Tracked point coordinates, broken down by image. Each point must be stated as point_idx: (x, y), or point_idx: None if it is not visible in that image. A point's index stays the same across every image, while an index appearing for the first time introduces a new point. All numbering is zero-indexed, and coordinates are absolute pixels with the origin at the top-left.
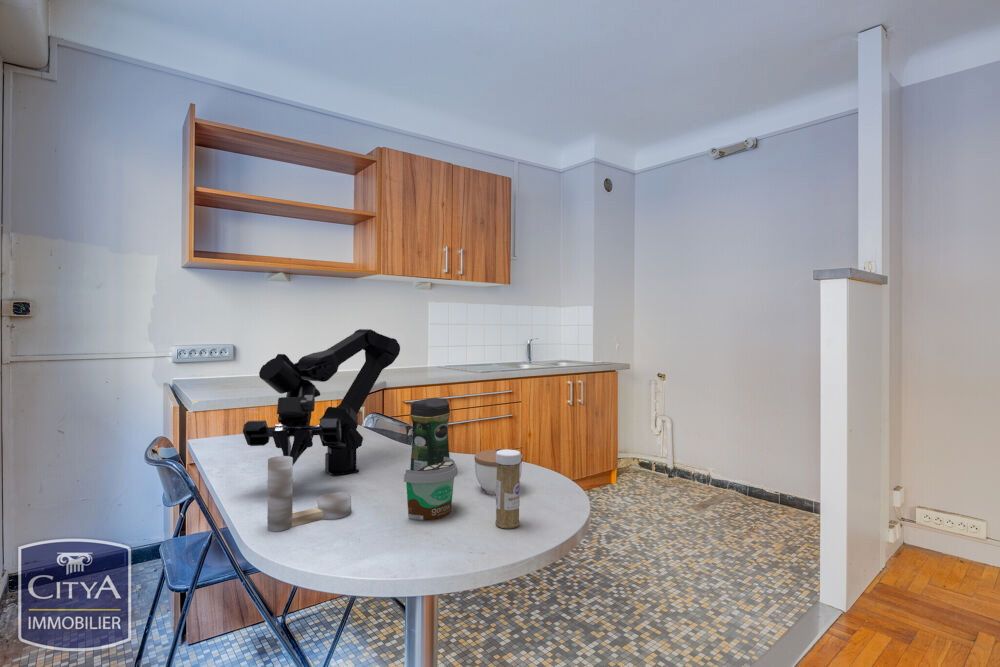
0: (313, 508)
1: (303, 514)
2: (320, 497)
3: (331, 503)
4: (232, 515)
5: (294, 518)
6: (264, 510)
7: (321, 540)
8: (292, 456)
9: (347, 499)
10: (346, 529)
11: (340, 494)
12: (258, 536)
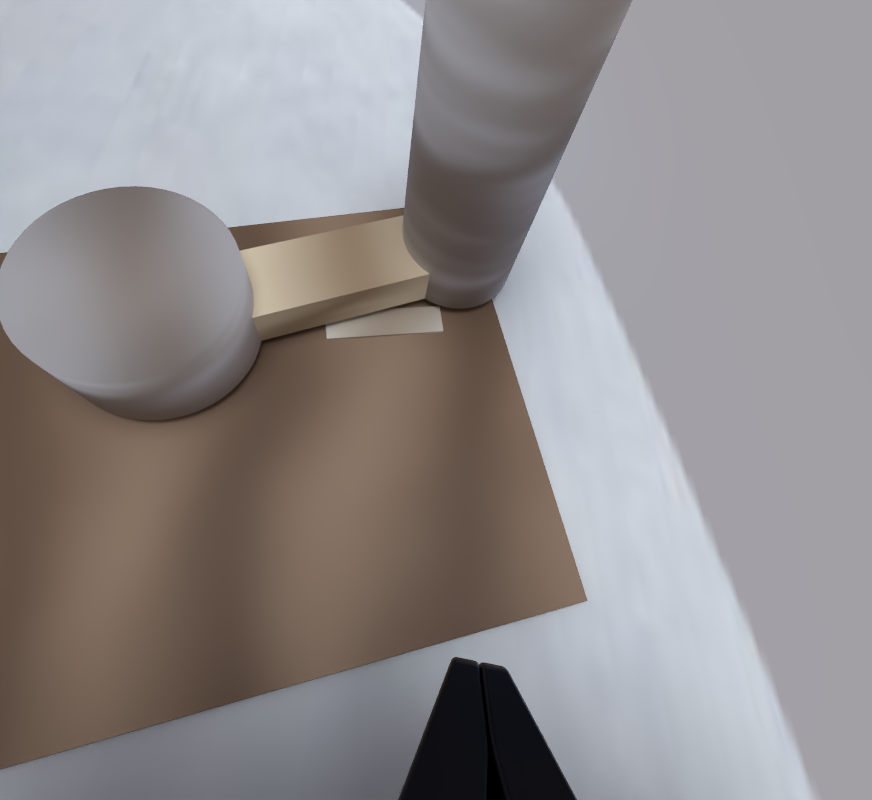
0: (280, 308)
1: (344, 239)
2: (217, 317)
3: (174, 193)
4: (719, 584)
5: (391, 221)
6: (557, 612)
7: (288, 124)
8: (433, 786)
9: (54, 215)
10: (159, 179)
11: (63, 325)
12: (535, 254)
